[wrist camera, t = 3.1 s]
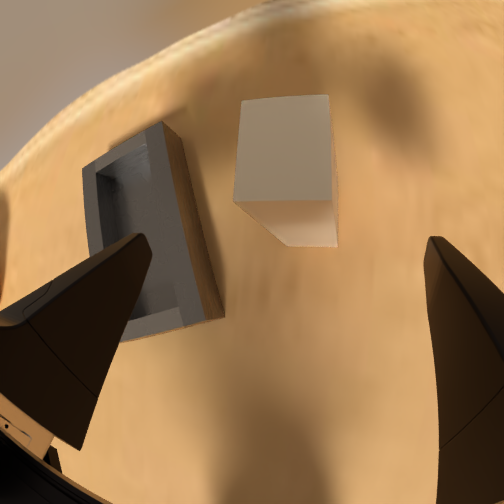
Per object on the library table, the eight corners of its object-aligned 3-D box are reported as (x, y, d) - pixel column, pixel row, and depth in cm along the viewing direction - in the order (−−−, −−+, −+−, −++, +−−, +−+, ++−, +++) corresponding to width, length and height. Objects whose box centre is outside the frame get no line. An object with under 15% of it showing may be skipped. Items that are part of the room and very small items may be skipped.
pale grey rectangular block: (337, 247, 19) (331, 200, 9) (286, 246, 20) (232, 201, 10) (337, 185, 19) (328, 94, 10) (289, 185, 20) (241, 100, 11)
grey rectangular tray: (224, 317, 20) (206, 320, 17) (132, 341, 22) (106, 345, 19) (181, 138, 23) (161, 120, 20) (104, 179, 25) (82, 168, 22)
